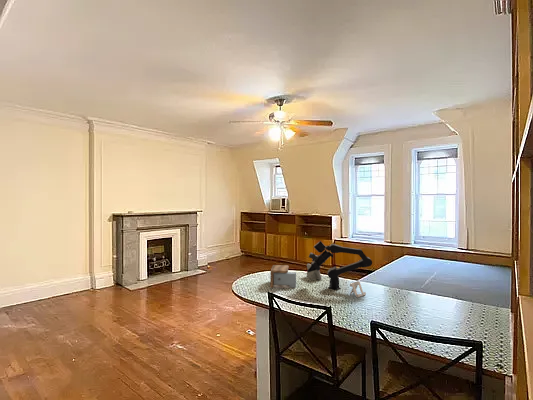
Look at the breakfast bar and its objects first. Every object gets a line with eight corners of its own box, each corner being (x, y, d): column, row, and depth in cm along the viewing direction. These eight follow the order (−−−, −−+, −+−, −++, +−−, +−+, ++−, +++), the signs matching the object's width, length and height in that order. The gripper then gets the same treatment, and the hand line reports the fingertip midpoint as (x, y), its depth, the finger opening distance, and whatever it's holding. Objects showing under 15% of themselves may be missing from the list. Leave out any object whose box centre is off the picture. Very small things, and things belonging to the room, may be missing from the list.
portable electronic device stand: (358, 298, 207) (358, 285, 206) (348, 295, 213) (348, 282, 213) (365, 295, 212) (365, 283, 212) (355, 292, 218) (355, 280, 218)
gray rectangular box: (296, 286, 233) (296, 272, 233) (295, 288, 228) (295, 274, 228) (274, 285, 235) (274, 271, 235) (273, 287, 230) (273, 273, 230)
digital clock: (322, 280, 249) (322, 267, 248) (311, 281, 247) (311, 267, 247) (315, 275, 264) (315, 262, 264) (304, 276, 263) (305, 263, 263)
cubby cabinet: (290, 281, 245) (290, 265, 245) (289, 288, 227) (289, 270, 227) (273, 280, 247) (273, 264, 247) (270, 287, 229) (270, 270, 229)
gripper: (315, 247, 238) (300, 261, 240) (315, 251, 220) (299, 266, 221) (325, 258, 237) (310, 271, 239) (327, 263, 219) (310, 278, 220)
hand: (307, 271), depth 230 cm, fingers closed
